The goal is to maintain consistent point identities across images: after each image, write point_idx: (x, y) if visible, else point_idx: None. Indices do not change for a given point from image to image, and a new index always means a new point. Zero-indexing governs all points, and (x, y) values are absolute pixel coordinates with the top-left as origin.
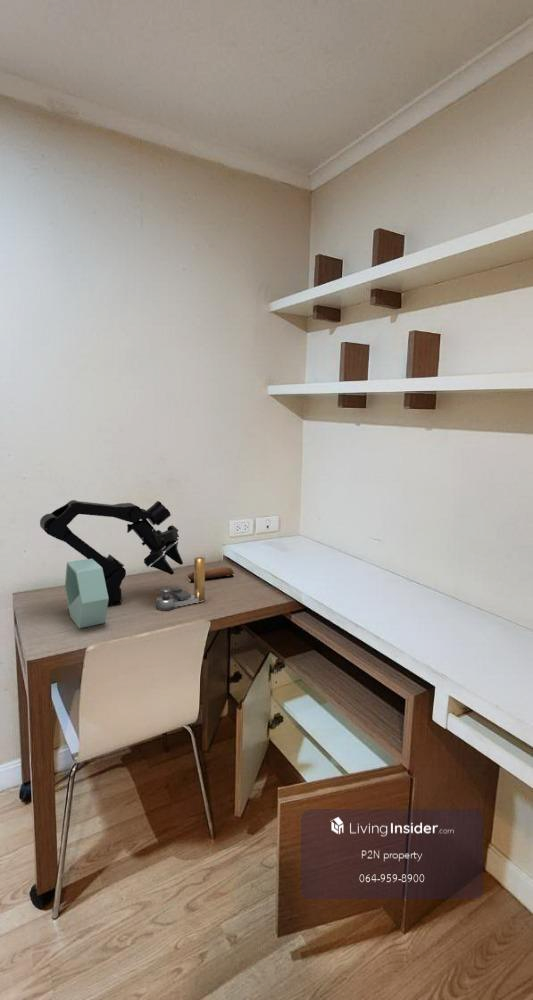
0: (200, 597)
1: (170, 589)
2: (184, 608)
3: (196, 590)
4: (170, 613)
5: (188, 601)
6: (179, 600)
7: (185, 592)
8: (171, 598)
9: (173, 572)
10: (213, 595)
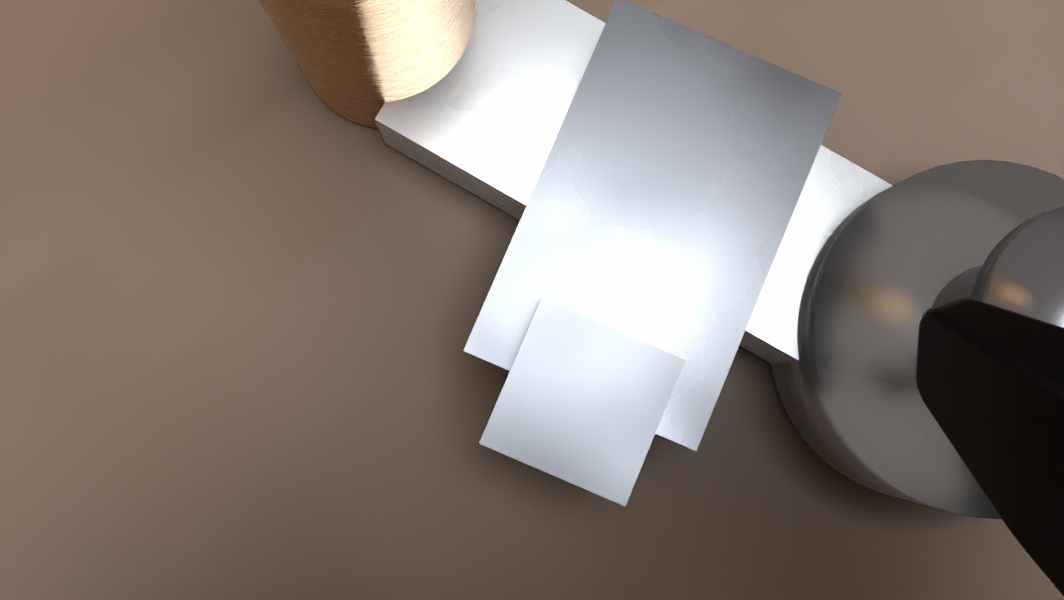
0: None
1: (1032, 243)
2: None
3: None
4: (1051, 132)
5: None
6: None
7: (577, 170)
8: (910, 263)
9: (981, 304)
10: (18, 3)
